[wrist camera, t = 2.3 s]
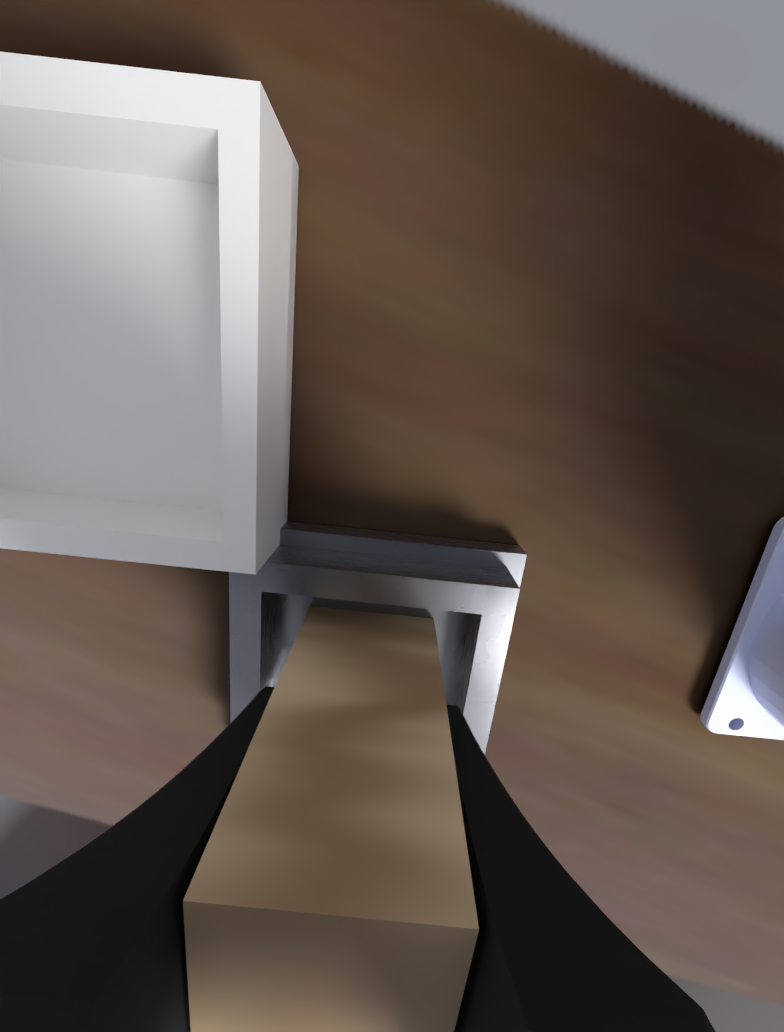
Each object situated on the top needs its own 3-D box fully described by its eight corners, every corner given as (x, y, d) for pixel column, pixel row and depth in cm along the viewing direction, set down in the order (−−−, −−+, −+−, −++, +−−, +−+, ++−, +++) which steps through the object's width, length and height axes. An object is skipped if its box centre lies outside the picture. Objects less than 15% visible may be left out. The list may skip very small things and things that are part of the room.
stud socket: (519, 545, 13) (541, 573, 11) (474, 763, 16) (485, 820, 14) (240, 516, 13) (210, 539, 11) (240, 740, 16) (216, 793, 14)
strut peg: (433, 618, 13) (479, 929, 6) (418, 720, 14) (438, 1093, 7) (309, 605, 13) (183, 900, 6) (304, 708, 14) (193, 1070, 7)
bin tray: (298, 166, 11) (260, 81, 8) (286, 535, 13) (255, 574, 11) (-97, 121, 10) (-286, 18, 8) (-24, 503, 13) (-141, 533, 10)
